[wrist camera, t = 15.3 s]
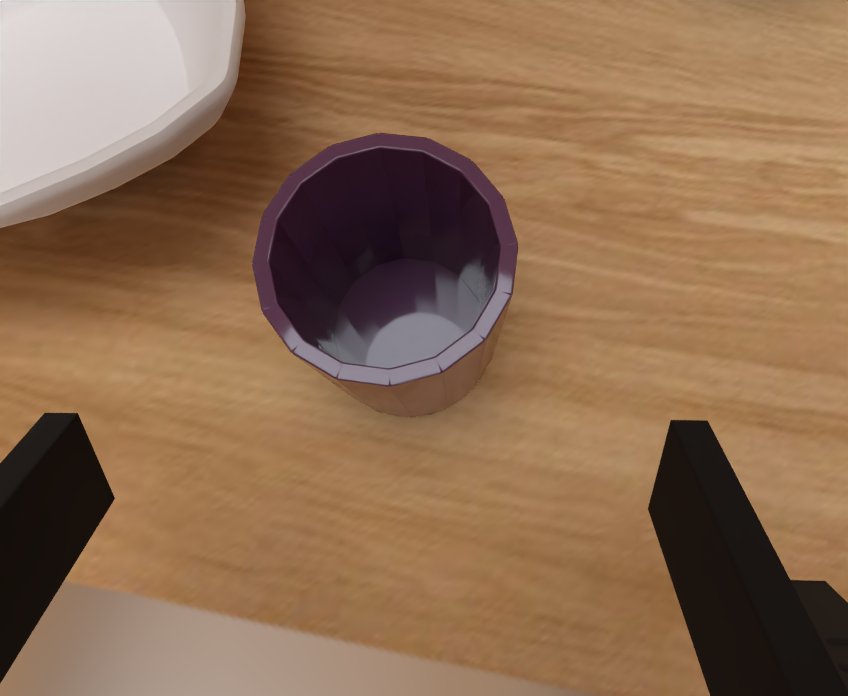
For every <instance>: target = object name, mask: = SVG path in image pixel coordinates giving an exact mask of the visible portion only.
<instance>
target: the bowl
mask: <svg viewBox="0 0 848 696" xmlns="http://www.w3.org/2000/svg"><path fill="white" fill-rule="evenodd" d="M245 20H246V13H245V5H244V0H0V228H3V227H6V226H10V225H14V224H18V223H22V222H26V221H29V220H33V219H37V218H41V217H45V216H48V215H52V214H54V213H57V212H59V211H61V210H64V209H66V208H69V207H71V206H73V205H76V204H78V203H81V202H83V201H86V200H88V199H90V198H93V197H95V196H98V195H100V194H103V193H105V192H107V191H110V190H112V189H115V188H117V187H119V186H121V185H123V184H125V183H126V182H128V181H130V180H132V179H134V178H136V177H138V176H140V175H141V174H143V173H145V172H147V171H149V170H151V169H153V168H155V167H156V166H158V165H160V164H162V163H164V162H166V161H168V160H170V159H171V158H173V157H175V156H176V155H177V154H179V153H180V152H181V151H182V150H184V149H185V148H186V147H188V146H189V145H190V144H191V143H193V142H194V141H195V140H196V139H198V138H199V137H200V136H202V135H203V134H204V133H205V132H207V131H208V130H209V129H210V128H212V127H213V126H214V125H215V124H216V122H217V121H218V120H219V119H220V118H221V116H222V114H223V112H224V110H225V108H226V105H227V103H228V101H229V99H230V97H231V95H232V93H233V91H234V88H235V86H236V83H237V80H238V73H239V65H240V58H241V50H242V43H243V35H244V28H245Z"/></svg>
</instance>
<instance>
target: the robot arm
mask: <svg viewBox="0 0 848 696" xmlns="http://www.w3.org/2000/svg"><path fill="white" fill-rule="evenodd" d="M114 499H115V498H114V495H113V493H112V491H111V488H110V486H109V484H108V482H107V479H106V477H105V475H104V472H103V470H102V468H101V466H100V463H99V461H98V459H97V456H96V454H95V452H94V450H93V447H92V445H91V443H90V440H89V438H88V436H87V433H86V431H85V429H84V427H83V424H82V422H81V420H80V417H79V415H78V413H44V415H43V416H42V417H41V418H40V419H39V420H38V421H37V422H36V424H35V425H34V426H33V427H32V428H31V429H30V430H29V432H28V433H27V434H26V435H25V436H24V437H23V438H22V439H21V441H20V442H19V443H18V444H17V445H16V446H15V447H14V449H13V450H12V451H11V452H10V453H9V454H8V455H7V456H6V458H5V459H4V460H3V461H2V462H1V463H0V683H1V681H2V680H3V678H4V677H5V675H6V673H7V672H8V670H9V668H10V667H11V665H12V664H13V662H14V660H15V659H16V657H17V655H18V654H19V652H20V651H21V649H22V647H23V646H24V644H25V643H26V641H27V639H28V638H29V636H30V635H31V633H32V631H33V630H34V628H35V626H36V625H37V623H38V622H39V620H40V618H41V617H42V615H43V613H44V612H45V610H46V609H47V607H48V606H49V604H50V602H51V601H52V599H53V597H54V596H55V594H56V593H57V591H58V589H59V588H60V586H61V585H62V583H63V581H64V580H65V578H66V577H67V575H68V573H69V572H70V570H71V568H72V567H73V565H74V564H75V562H76V560H77V559H78V557H79V556H80V554H81V552H82V551H83V549H84V547H85V546H86V544H87V543H88V541H89V539H90V538H91V536H92V535H93V533H94V531H95V530H96V528H97V526H98V525H99V523H100V522H101V520H102V518H103V517H104V515H105V514H106V512H107V510H108V509H109V507H110V506H111V504H112V502H113V501H114ZM648 510H649V513H650V516H651V519H652V522H653V525H654V528H655V531H656V534H657V537H658V540H659V543H660V546H661V549H662V552H663V555H664V558H665V561H666V564H667V567H668V570H669V573H670V576H671V579H672V582H673V585H674V588H675V591H676V594H677V597H678V600H679V603H680V606H681V609H682V612H683V615H684V618H685V621H686V624H687V627H688V630H689V633H690V636H691V639H692V642H693V645H694V648H695V651H696V654H697V657H698V660H699V663H700V666H701V669H702V672H703V675H704V678H705V681H706V684H707V687H708V690H709V693H710V696H848V603H847V602H846V601H845V600H844V599H843V598H842V597H841V596H840V595H839V594H838V593H837V592H836V591H835V590H834V589H833V588H832V587H831V586H830V585H829V584H828V583H827V582H826V581H802V580H790V579H789V577H788V575H787V573H786V571H785V569H784V567H783V565H782V563H781V561H780V559H779V557H778V556H777V554H776V552H775V550H774V548H773V546H772V544H771V542H770V540H769V538H768V536H767V534H766V532H765V531H764V529H763V527H762V525H761V523H760V521H759V519H758V517H757V515H756V513H755V511H754V509H753V507H752V505H751V504H750V502H749V500H748V498H747V496H746V494H745V492H744V490H743V488H742V486H741V484H740V482H739V480H738V478H737V477H736V475H735V473H734V471H733V469H732V467H731V465H730V463H729V461H728V459H727V457H726V455H725V453H724V452H723V450H722V448H721V446H720V444H719V442H718V440H717V438H716V436H715V434H714V432H713V430H712V428H711V426H710V425H709V423H708V421H693V420H671V422H670V426H669V429H668V433H667V437H666V441H665V445H664V449H663V453H662V457H661V460H660V464H659V468H658V472H657V476H656V480H655V484H654V488H653V492H652V495H651V499H650V503H649V507H648Z"/></svg>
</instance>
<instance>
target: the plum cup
mask: <svg viewBox="0 0 848 696" xmlns="http://www.w3.org/2000/svg"><path fill="white" fill-rule="evenodd" d="M517 254H518V242H517V238H516V235H515V232H514V229H513V225H512V222H511V219H510V216H509V212H508V209H507V206H506V202H505V200H504V198H503V196H502V195H501V194H500V193H499V191H498V190H497V189H496V188H495V187H494V185H493V184H492V183H491V182H490V181H489V180H488V178H487V177H486V176H485V175H484V174H483V173H482V171H481V170H480V169H479V168H478V167H477V166H476V164H475V163H474V162H473V161H471V160H470V159H468V158H467V157H465V156H463V155H461V154H459V153H457V152H455V151H453V150H451V149H449V148H447V147H445V146H443V145H441V144H439V143H437V142H435V141H433V140H431V139H428V138H425V137H415V136H406V135H396V134H386V133H379V134H378V133H376V134H372V135H368V136H364V137H360V138H356V139H352V140H349V141H345V142H341V143H337V144H333V145H331V146H329V147H327V148H326V149H324V150H323V151H322V152H320V153H319V154H317V155H316V156H314V157H313V158H312V159H310V160H309V161H307V162H306V163H304V164H303V165H302V166H300V167H299V168H297V169H296V170H294V171H293V172H292V173H291V174H290V175H289V176H288V177H287V178H286V180H285V181H284V183H283V184H282V186H281V187H280V189H279V190H278V192H277V193H276V195H275V196H274V198H273V199H272V201H271V202H270V204H269V205H268V207H267V208H266V210H265V211H264V213H263V216H262V217H261V222H260V227H259V232H258V237H257V242H256V246H255V251H254V256H253V261H252V262H253V264H252V266H253V271H254V276H255V281H256V286H257V291H258V295H259V300H260V305H261V310H262V311H263V314H264V316H265V317H266V318H267V320H268V321H269V323H270V324H271V325H272V327H273V328H274V330H275V331H276V332H277V334H278V335H279V337H280V338H281V339H282V341H283V342H284V344H285V345H286V346H287V348H288V349H289V351H290V352H292V353H293V354H294V355H295V356H296V357H298V358H299V359H300V360H302V361H303V362H305V363H306V364H307V365H309V366H310V367H311V368H313V369H314V370H316V371H317V372H318V373H320V374H321V375H322V376H324V377H325V378H326V379H328V380H329V381H331V382H332V383H333V384H335V385H336V386H337V387H339V388H340V389H342V390H343V391H344V392H346V393H347V394H348V395H350V396H351V397H353V398H355V399H356V400H358V401H360V402H361V403H363V404H365V405H366V406H368V407H370V408H372V409H373V410H375V411H377V412H379V413H384V414H388V415H393V416H399V417H419V416H425V415H430V414H433V413H436V412H439V411H442V410H444V409H446V408H449V407H450V406H452V405H454V404H455V403H457V402H458V401H460V400H461V399H462V398H464V397H465V396H466V395H467V394H468V393H469V392H470V391H471V390H472V389H474V387H475V386H476V385H477V383H478V382H479V380H480V379H481V377H482V376H483V374H484V372H485V370H486V368H487V366H488V364H489V363H490V361H491V359H492V356H493V353H494V350H495V347H496V344H497V341H498V338H499V335H500V332H501V328H502V325H503V322H504V319H505V316H506V313H507V310H508V307H509V304H510V300H511V297H512V294H513V287H514V279H515V271H516V262H517Z"/></svg>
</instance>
